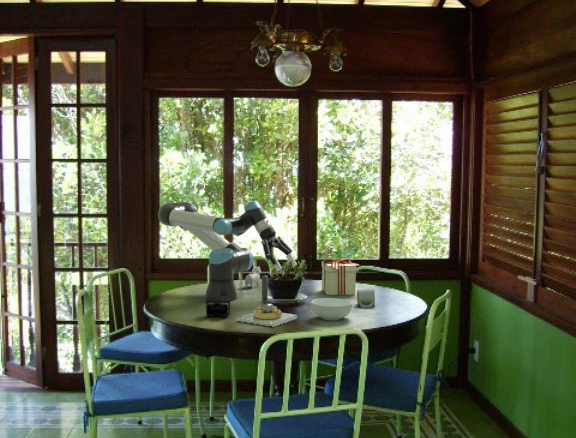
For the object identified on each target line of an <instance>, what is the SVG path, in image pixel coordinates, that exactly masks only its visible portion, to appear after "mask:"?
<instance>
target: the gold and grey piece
mask: <svg viewBox="0 0 576 438" xmlns="http://www.w3.org/2000/svg"><path fill="white" fill-rule="evenodd" d="M268 286H269V285H268V275H261V305H262V304H265V303H268V300H269V298H268V296H269V295H268V290H269V288H268ZM253 312H254V317H255V318H260V319H275V318H279V317H281V313H282V311H281V309H278V307H277V306H275V305H273V310H272V313H264V310H262V306H257V307H255V309H254V310H253Z"/></svg>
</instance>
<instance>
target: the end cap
mask: <svg viewBox="0 0 576 438" xmlns="http://www.w3.org/2000/svg"><path fill="white" fill-rule="evenodd" d="M205 315H206V319H207V318H228V319H229V317H230V315H231V300H230V301H211V300H206V301H205ZM228 316H229V317H228Z"/></svg>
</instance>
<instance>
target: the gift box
mask: <svg viewBox="0 0 576 438" xmlns="http://www.w3.org/2000/svg"><path fill="white" fill-rule="evenodd" d="M351 261H353V259H352V258H341V259H339V260H336V259H333V258H328V259H327V258H326V259H324V260H322V261H321V268H322V271H321V291H322V292H324V294H326V295H327V296H355V295H356V284H357V283H356V278H357V277H356V276H357V274H356V273H357V271H358V270H357V269H358V267H360V266H361V265H360V264H359V263H355V262H351ZM357 266H358V267H357Z"/></svg>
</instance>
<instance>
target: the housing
mask: <svg viewBox="0 0 576 438" xmlns="http://www.w3.org/2000/svg"><path fill="white" fill-rule="evenodd" d="M273 306H274V305H273V303H265V304H262V303H261V307H262V310H264V313H272V310H273ZM297 319H298V315H297V314H293V313H286V312H281V317H279V318H275V319H260V318H255V317H254V311H253V312H251V313H248V314H243V315H242V316H239V317H237V318H236V322H237V321H241V322H240V323H243V322H247V323H246V324H250V323H253V324H252V325H256V324H259V325H258V326H263V325H265V327H269V326H272V327H271V328H276V327H278V325H279V326H281V325H283V323H284V324H287V323H290V322H291V321H294V320H297ZM280 324H281V325H280ZM275 326H276V327H275Z"/></svg>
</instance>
